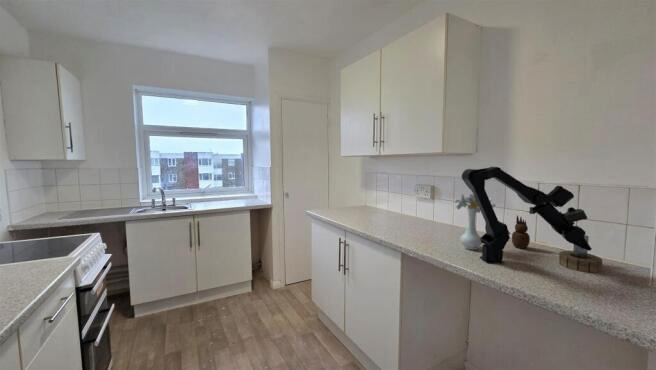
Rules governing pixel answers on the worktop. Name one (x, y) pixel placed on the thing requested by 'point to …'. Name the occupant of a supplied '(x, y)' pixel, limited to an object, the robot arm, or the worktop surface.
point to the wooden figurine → (520, 234)
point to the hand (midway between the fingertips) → (585, 246)
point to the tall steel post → (580, 250)
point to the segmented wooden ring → (580, 262)
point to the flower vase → (470, 222)
